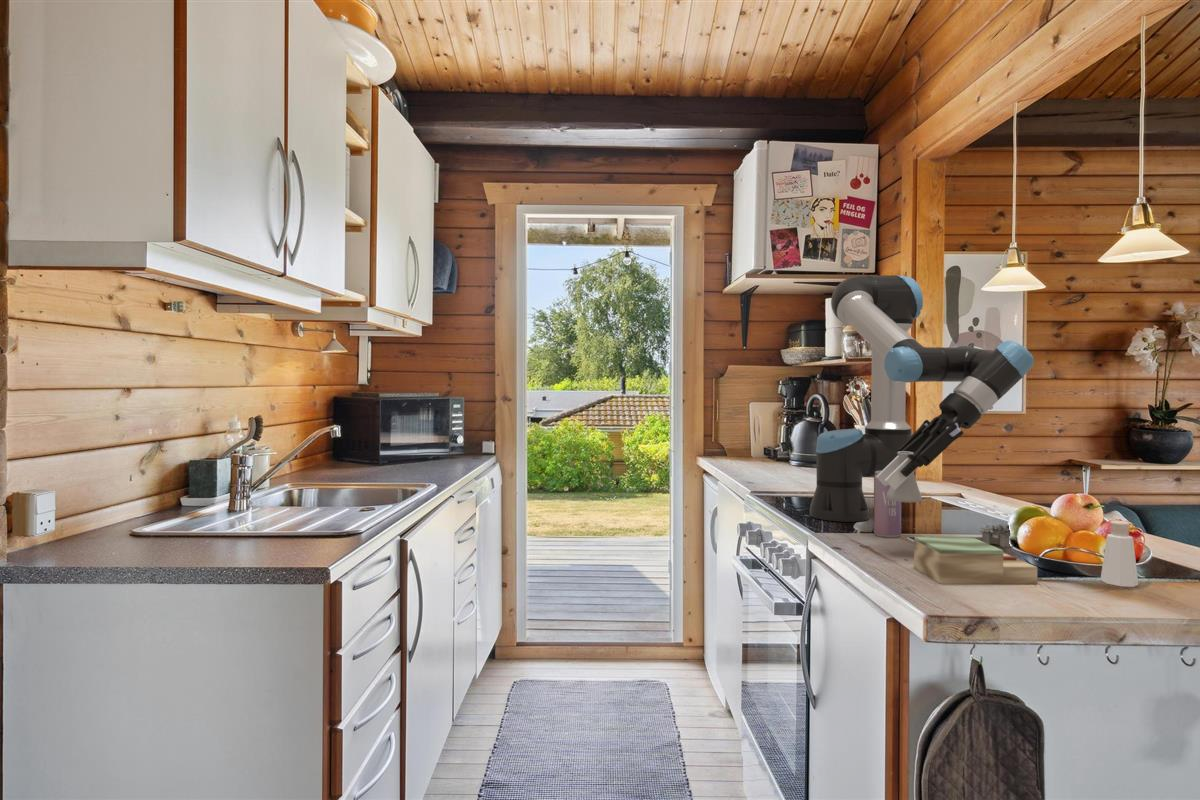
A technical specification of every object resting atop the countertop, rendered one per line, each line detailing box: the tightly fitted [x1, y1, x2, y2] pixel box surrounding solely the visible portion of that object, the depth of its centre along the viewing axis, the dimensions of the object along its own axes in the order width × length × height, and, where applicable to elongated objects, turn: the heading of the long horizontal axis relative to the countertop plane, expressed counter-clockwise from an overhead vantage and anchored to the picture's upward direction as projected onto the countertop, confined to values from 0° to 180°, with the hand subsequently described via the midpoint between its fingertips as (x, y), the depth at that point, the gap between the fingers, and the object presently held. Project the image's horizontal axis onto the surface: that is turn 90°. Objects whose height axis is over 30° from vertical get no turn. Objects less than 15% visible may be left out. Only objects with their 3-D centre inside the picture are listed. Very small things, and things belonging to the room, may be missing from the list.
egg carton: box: [979, 522, 1011, 548], centre depth 156 cm, size 11×8×4 cm
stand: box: [913, 536, 1038, 585], centre depth 129 cm, size 11×17×6 cm, turn 89°
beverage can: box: [873, 471, 902, 539], centre depth 163 cm, size 6×6×15 cm
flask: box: [886, 451, 923, 504], centre depth 144 cm, size 7×7×10 cm
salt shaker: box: [1100, 519, 1139, 588], centre depth 124 cm, size 5×5×11 cm
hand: (885, 483), depth 145 cm, fingers closed on flask, 4 cm apart
